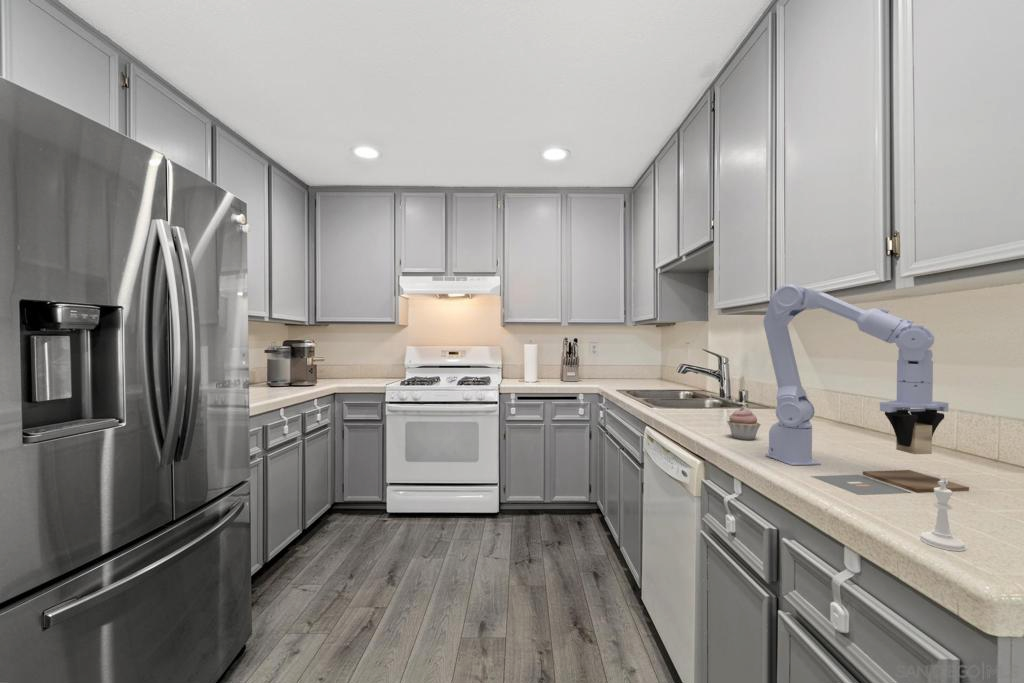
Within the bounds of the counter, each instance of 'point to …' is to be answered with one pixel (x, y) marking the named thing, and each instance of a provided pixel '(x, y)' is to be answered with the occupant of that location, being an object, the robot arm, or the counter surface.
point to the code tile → (860, 484)
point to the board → (912, 480)
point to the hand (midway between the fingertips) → (913, 445)
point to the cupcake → (743, 424)
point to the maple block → (919, 440)
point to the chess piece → (942, 522)
